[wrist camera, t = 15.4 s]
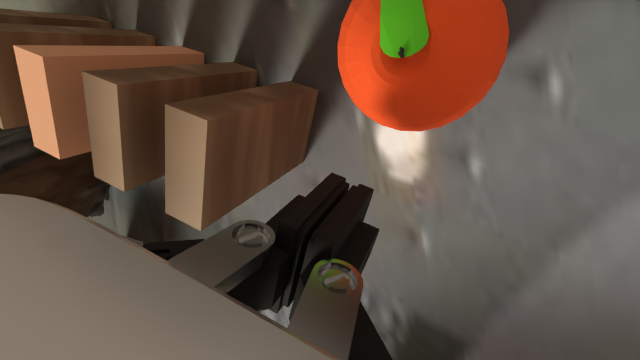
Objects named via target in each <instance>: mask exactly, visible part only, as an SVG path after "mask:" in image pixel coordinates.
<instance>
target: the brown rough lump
mask: <svg viewBox="0 0 640 360" xmlns="http://www.w3.org/2000/svg"><path fill="white" fill-rule="evenodd" d="M109 187H110V184H108V183H106V182H104V181H102V180H101V179H99V178H97V177H95V176H94V168H93V160H92V152H91V151H90V152H86V153H83V154H79V155H75V156H72V157H68V158H64V159H61V160H60V159H58V158H56V157H54V156H52V155H50V154H48V153H46V152H44V151H42V150H40V149H38V148H36V147H35V146H34V143H33V138H32V133H31V128H30V125H27V126H22V127H16V128H10V129H5V130H3V129H1V128H0V194H12V195H20V196H26V197H32V198H37V199H41V200H44V201H48V202H51V203H55V204H57V205H60V206H62V207H65V208H67V209H70V210H72V211H75V212H77V213H79V214H81V215H83V216H85V217H88V216H91V217H93V216H98V215H99V216H101V215H102V214H103V213H104V207H103V200H104V199H105V200H109V193H108V190H109Z"/></svg>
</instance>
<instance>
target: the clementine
mask: <svg viewBox="0 0 640 360" xmlns="http://www.w3.org/2000/svg"><path fill="white" fill-rule="evenodd" d="M508 39H509V26H508V19H507V12H506V7H505V5H504V3H503V1H502V0H352V2H351V3H350V6H349V8H348V10H347V12H346V15H345V17H344V19H343V22H342V24H341V29H340V34H339V40H338V45H337V47H338V67H339V71H340V74H341V78H342V82H343V85H344V87H345V89H346V91H347V92H348V94H349V96H350V98H351V99H352V101H353V102H354V103H355V105H356V106H357V107H358V108H359V109H360V110H361V111H362V112H363V113H364V114H365V115H366V116H368V117H369V118H371V119H373V120H374V121H376V122H378V123H379V124H381V125H383V126H387V127H390V128H393V129H397V130H400V131H424V130H428V129H433V128H437V127H442V126H444V125H446V124H448V123H450V122H452V121H454V120H456V119H458V118H460V117H462V116H463V115H464V114H466V113H467V112H468V111H469V110H470V109H472V108H473V107H474V106H475V105H476V104H478V103H479V102H480V101H481V100H482V99H483V98H484V96H485V95H486V94H487V92H488V91H489V90H490V88H491V87H492V86H493V84H494V83H495V82H496V80H497V77H498V75H499V73H500V70H501V68H502V66H503V63H504V61H505V58H506V53H507V46H508Z"/></svg>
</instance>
